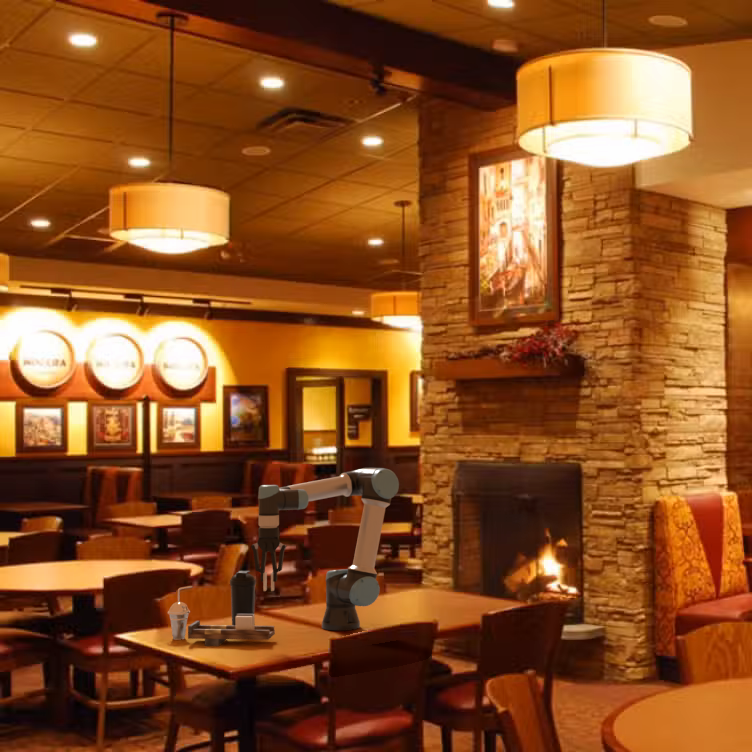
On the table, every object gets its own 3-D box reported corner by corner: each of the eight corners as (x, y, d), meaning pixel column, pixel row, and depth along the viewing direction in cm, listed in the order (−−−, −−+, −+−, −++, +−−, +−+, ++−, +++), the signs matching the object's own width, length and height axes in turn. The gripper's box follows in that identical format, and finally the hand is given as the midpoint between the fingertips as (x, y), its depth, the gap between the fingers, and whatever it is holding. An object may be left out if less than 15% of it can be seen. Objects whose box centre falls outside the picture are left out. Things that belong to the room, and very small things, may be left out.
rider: (254, 630, 417) (254, 612, 418) (251, 633, 412) (251, 615, 412) (238, 630, 418) (238, 612, 418) (235, 633, 412) (235, 615, 413)
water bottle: (258, 627, 447) (258, 569, 448) (252, 632, 437) (252, 573, 438) (233, 627, 448) (233, 569, 449) (227, 632, 438) (227, 573, 439)
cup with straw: (176, 635, 430) (176, 583, 431) (195, 637, 426) (195, 584, 427) (162, 639, 423) (163, 586, 424) (182, 641, 419) (182, 587, 420)
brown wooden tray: (275, 640, 420) (275, 621, 420) (268, 646, 407) (268, 627, 407) (197, 639, 423) (197, 620, 423) (187, 645, 410) (187, 626, 411)
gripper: (290, 525, 419) (290, 589, 417) (250, 525, 420) (250, 588, 419) (287, 527, 411) (287, 592, 410) (246, 527, 413) (246, 591, 412)
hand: (268, 590), depth 415 cm, fingers open, 2 cm apart
